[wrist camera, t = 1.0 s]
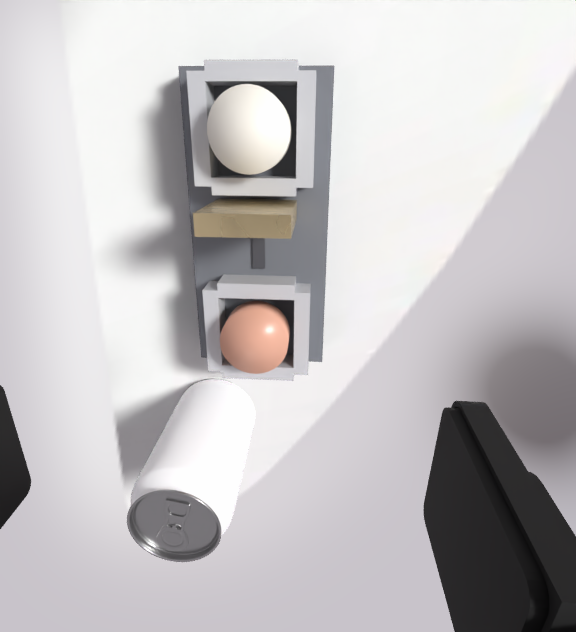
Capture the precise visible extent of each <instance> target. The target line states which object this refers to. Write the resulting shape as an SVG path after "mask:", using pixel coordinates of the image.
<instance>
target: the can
mask: <svg viewBox="0 0 576 632" xmlns="http://www.w3.org/2000/svg"><path fill="white" fill-rule="evenodd" d="M254 422H255V408H254V405H253V403H252V401H251V399H250V397H249V396H248V395H247V394H246V393H245V392H244V391H243V390H242V389H241V388H240V387H238V386H237V385H235V384H233V383H230V382H228V381H224V380H219V379H208V380H203V381H199V382H197V383H195V384H193V385H192V386H190V387H189V388H188V389H187V390H186V391H185V393H184V394H183V395H182V397H181V399H180V401H179V402H178V404H177V406H176V408H175V410H174V412H173V413H172V415H171V417H170V419H169V421H168V423H167V424H166V426H165V428H164V430H163V432H162V434H161V436H160V437H159V439H158V441H157V443H156V445H155V447H154V449H153V450H152V452H151V454H150V456H149V458H148V460H147V462H146V464H145V465H144V467H143V469H142V471H141V473H140V475H139V477H138V479H137V481H136V483H135V485H134V488H133V490H132V494H131V507H130V509H129V511H128V515H127V525H128V529H129V532H130V534H131V536H132V537H133V539H134V540H135V541H136V542H137V544H139V545H140V546H141V547H142V548H143V549H144V550H146V551H147V552H149V553H151V554H152V555H154V556H157V557H159V558H162V559H165V560H170V561H176V562H189V561H195V560H198V559H201V558H203V557H205V556H207V555H209V554H210V553H211V552H213V550H215V548H216V547H217V546H218V544H219V542H220V539H221V536H222V534H223V533H224V532H225V531H226V530H227V528H228V527H229V525H230V522H231V520H232V517H233V513H234V509H235V506H236V501H237V497H238V493H239V489H240V484H241V480H242V476H243V471H244V467H245V463H246V458H247V454H248V450H249V445H250V441H251V436H252V432H253V427H254Z"/></svg>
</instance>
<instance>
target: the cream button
mask: <svg viewBox="0 0 576 632" xmlns="http://www.w3.org/2000/svg"><path fill="white" fill-rule="evenodd" d="M207 135H208V140H209V143H210V146H211V149H212V151H213V152H214V154H215V156H216V157H217V158H218V160H219V161H220V162H221V163H222V164H223V165H225V166H226V167H227V168H229V169H231V170H232V171H235V172H237V173H241V174H248V175H251V174H258V173H262V172H265V171H266V170H268V169H270V168H272V167H274V166H275V165H277V164H278V163H279V162H280V161H281V160H282V158H283V157H284V156H285V154H286V152H287V150H288V148H289V145H290V142H291V135H292V128H291V121H290V118H289V115H288V113H287V110H286V109H285V107H284V105H283V104H282V103H281V102H280V101H279V99H278V98H277V97H276V96H275V95H274V94H272V93H271V92H270V91H268V90H267V89H265V88H263V87H260V86H258V85H253V84H240V85H236V86H233V87H231V88H229V89H227V90H226V91H224V92H223V93H222V94H221V95H220V96H219V97H218V98H217V99H216V101H215V102H214V104H213V105H212V107H211V110H210V112H209V116H208V121H207Z"/></svg>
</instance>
